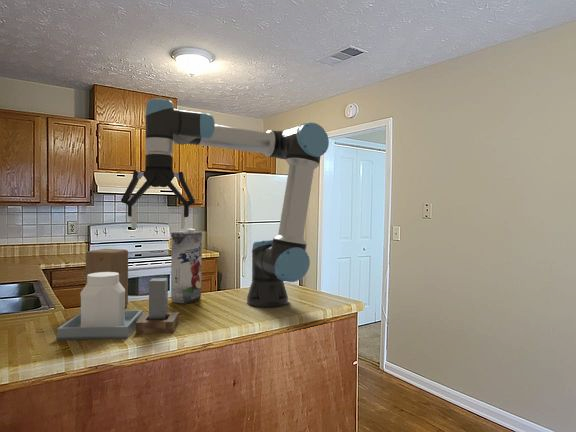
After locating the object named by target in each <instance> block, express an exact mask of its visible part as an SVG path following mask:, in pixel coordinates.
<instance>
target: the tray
mask: <svg viewBox="0 0 576 432" xmlns="http://www.w3.org/2000/svg"><path fill="white" fill-rule="evenodd" d="M143 310H144V309H130V310H129V309H128V310H127V309H125V325H124V326H109V327H80V324H81V312H79V313H78V314H77V315H74V316H73V317H72V318H70V319H69V320H67V321H66V322H65V323H63V324H61V325H60V326H59V327H57V328H56V340H57V341H66V340H67V341H69V340H71V341H73V340H76V341H78V340H102V339H103V340H107V339H108V340H110V339H128V338H129V337H130V336H131V334H132V333H133V332H134V331H136V322H137V321H138V320H139V318H140V317H141V316H142V315H143V314H144V311H143Z"/></svg>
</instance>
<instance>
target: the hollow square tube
mask: <svg viewBox="0 0 576 432" xmlns="http://www.w3.org/2000/svg"><path fill="white" fill-rule="evenodd" d="M178 323H179V312H168V319H167V320H149V312H143V315H142V316H141V317H140V318H139V320H138V321H137V322H136V328H135V334H164V333H165V334H166V333H169V334H170V333H174V332H175V330H176V327H177V326H178Z"/></svg>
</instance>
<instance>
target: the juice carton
mask: <svg viewBox="0 0 576 432" xmlns="http://www.w3.org/2000/svg"><path fill="white" fill-rule="evenodd" d="M202 236H203V232H202V231H196V229H195V228H187V230H185V231H182V232H177V231H175V232H170V239H171V249H170V250H171V254H170V255H171V258H170V259H171V263H170V264H171V265H170V266H171V268H170V269H171V270H170V271H171V272H170V274H171V275H170V276H171V277H170V279H171V280H170V281H171V282H170V284H171V285H170V299H171V302H172V303H178V304H186V305H187V304H191V303H193V302H196V301H199V300H201V297H202V253H203V252H202V251H203V250H202V238H203V237H202Z"/></svg>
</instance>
